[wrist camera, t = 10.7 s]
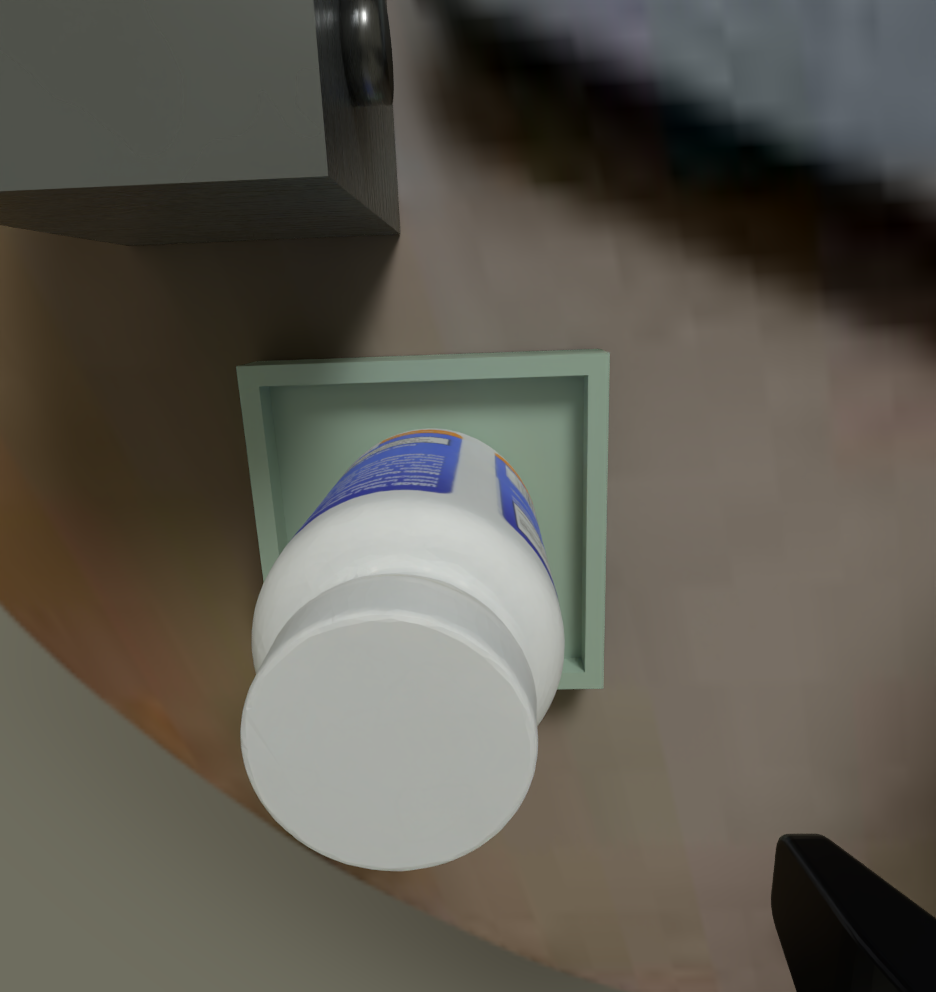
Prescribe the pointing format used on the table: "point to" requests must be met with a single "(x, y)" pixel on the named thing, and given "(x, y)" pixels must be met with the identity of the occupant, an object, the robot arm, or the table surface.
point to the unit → (197, 119)
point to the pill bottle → (405, 658)
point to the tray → (458, 407)
